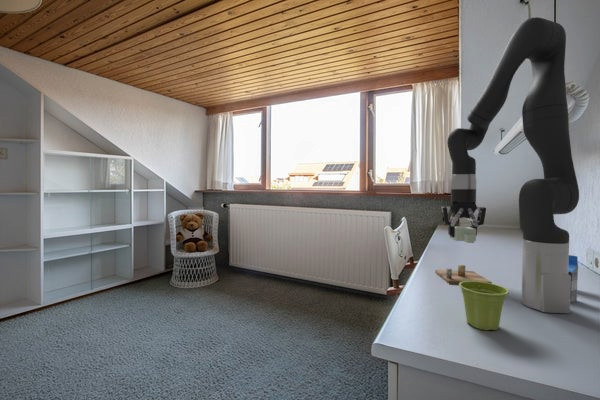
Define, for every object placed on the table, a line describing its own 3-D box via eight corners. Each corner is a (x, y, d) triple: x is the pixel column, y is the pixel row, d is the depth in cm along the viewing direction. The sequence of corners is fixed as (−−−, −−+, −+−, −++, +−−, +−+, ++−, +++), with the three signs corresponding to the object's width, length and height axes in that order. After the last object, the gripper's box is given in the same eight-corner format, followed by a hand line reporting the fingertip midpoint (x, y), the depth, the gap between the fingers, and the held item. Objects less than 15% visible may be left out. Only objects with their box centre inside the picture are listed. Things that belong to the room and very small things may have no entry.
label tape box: (532, 293, 86) (533, 251, 86) (539, 290, 88) (540, 250, 88) (570, 303, 79) (572, 257, 78) (577, 300, 81) (579, 256, 80)
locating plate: (491, 285, 93) (492, 271, 93) (448, 283, 95) (449, 270, 95) (472, 273, 106) (473, 261, 106) (435, 272, 108) (435, 260, 108)
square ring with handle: (449, 237, 104) (449, 226, 104) (467, 238, 103) (468, 226, 103) (461, 242, 94) (461, 230, 94) (480, 243, 93) (481, 230, 93)
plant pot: (463, 312, 73) (463, 278, 73) (509, 323, 67) (510, 285, 67) (454, 326, 66) (455, 287, 65) (505, 339, 60) (506, 297, 59)
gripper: (445, 188, 97) (444, 238, 97) (491, 188, 95) (490, 239, 96) (437, 188, 104) (436, 235, 105) (480, 188, 102) (479, 235, 103)
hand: (462, 237), depth 100 cm, fingers closed on square ring with handle, 6 cm apart
